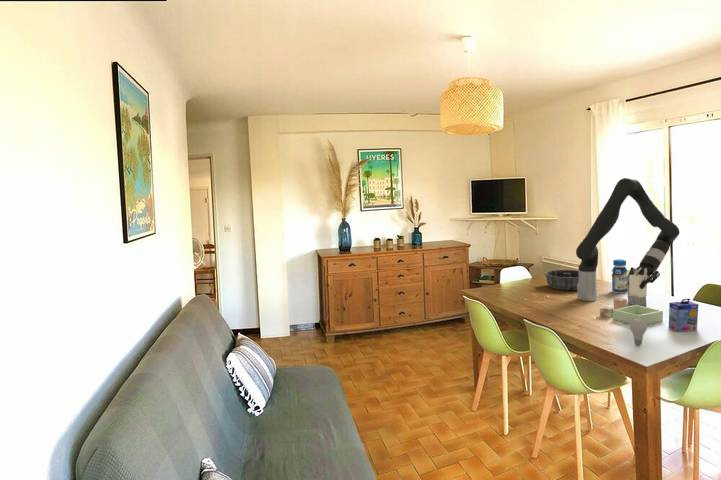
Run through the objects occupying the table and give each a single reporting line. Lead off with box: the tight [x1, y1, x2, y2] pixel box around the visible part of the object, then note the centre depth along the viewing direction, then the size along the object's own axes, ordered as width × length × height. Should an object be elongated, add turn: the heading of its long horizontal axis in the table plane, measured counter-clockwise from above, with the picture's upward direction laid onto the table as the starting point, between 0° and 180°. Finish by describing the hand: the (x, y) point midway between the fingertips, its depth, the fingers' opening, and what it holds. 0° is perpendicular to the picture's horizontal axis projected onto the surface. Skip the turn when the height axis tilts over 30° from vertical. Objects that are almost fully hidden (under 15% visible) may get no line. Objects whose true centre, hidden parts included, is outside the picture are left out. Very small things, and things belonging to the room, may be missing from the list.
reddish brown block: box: [613, 297, 628, 310], centre depth 222 cm, size 6×6×7 cm
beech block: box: [599, 305, 614, 319], centre depth 218 cm, size 4×4×4 cm
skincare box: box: [626, 276, 647, 307], centre depth 236 cm, size 8×7×16 cm
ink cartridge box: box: [668, 298, 699, 333], centre depth 191 cm, size 10×6×14 cm, turn 95°
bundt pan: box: [544, 269, 579, 291], centre depth 284 cm, size 26×26×10 cm
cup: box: [628, 274, 648, 297], centre depth 207 cm, size 5×5×10 cm
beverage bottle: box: [611, 258, 629, 294], centre depth 264 cm, size 8×8×20 cm
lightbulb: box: [628, 319, 648, 346], centre depth 176 cm, size 6×6×11 cm
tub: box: [612, 305, 664, 326], centre depth 209 cm, size 13×16×5 cm
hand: (635, 286), depth 207 cm, fingers closed on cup, 5 cm apart
